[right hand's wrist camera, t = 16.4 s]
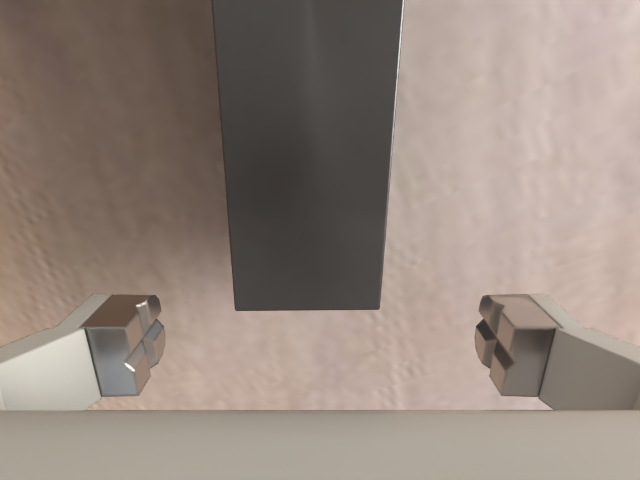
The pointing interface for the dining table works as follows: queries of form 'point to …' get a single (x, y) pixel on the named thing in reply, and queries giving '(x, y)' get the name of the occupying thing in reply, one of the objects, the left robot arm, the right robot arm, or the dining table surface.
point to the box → (307, 147)
